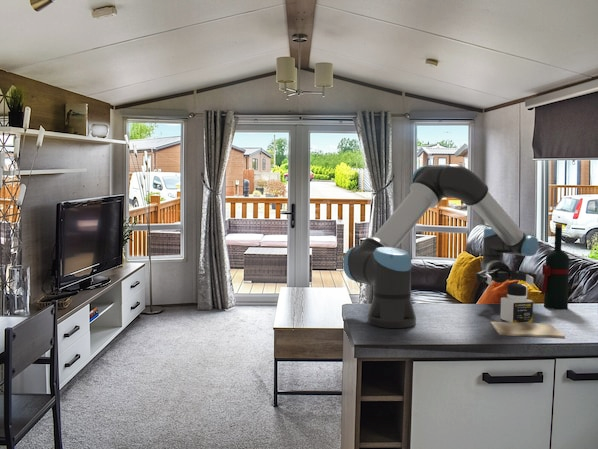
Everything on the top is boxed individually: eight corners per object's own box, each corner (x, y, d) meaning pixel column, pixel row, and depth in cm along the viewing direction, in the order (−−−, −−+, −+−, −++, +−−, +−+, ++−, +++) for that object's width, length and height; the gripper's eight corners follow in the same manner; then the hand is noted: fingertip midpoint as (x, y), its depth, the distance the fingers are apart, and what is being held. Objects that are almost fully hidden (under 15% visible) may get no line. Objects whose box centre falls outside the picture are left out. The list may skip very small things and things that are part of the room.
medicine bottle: (513, 324, 178) (514, 286, 177) (499, 318, 185) (501, 282, 184) (532, 323, 180) (534, 285, 179) (519, 317, 187) (520, 281, 186)
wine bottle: (533, 305, 205) (536, 223, 203) (557, 304, 208) (560, 223, 206) (548, 310, 198) (551, 225, 196) (572, 309, 200) (576, 224, 198)
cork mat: (499, 335, 165) (499, 333, 165) (490, 323, 179) (490, 321, 179) (564, 337, 163) (564, 335, 162) (550, 325, 176) (550, 323, 176)
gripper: (532, 281, 211) (549, 293, 190) (463, 280, 215) (472, 291, 194) (532, 261, 211) (550, 270, 190) (464, 261, 214) (473, 269, 193)
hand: (511, 281), depth 192 cm, fingers open, 13 cm apart
